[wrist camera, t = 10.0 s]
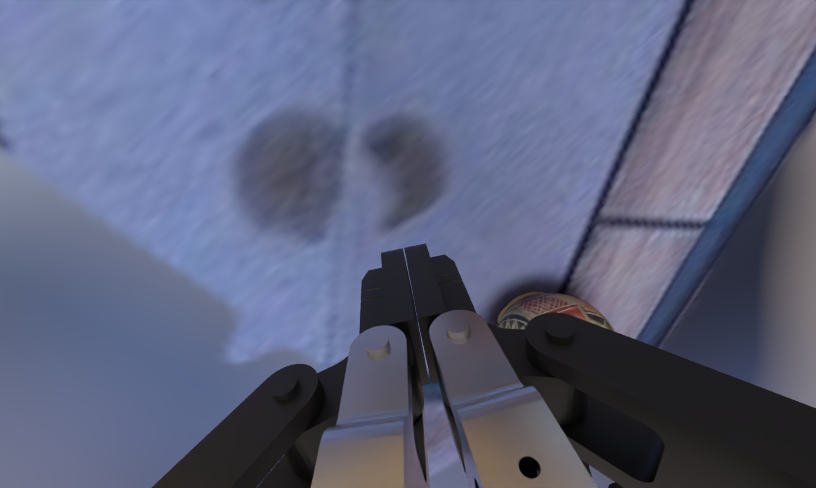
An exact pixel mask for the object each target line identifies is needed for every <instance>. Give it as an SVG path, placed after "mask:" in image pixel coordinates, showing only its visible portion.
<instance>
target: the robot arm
mask: <svg viewBox="0 0 816 488" xmlns="http://www.w3.org/2000/svg"><path fill="white" fill-rule="evenodd" d="M405 254H406V259H407V265H408V270H409V275H410V280H409V275H408V271H407V266H406V261H405V257H404V252H403V248H402V249H397V250H392V251H388V252H383V253H381V260H382V268H378V269H374V270H369V271H368V272H367V274H366V275H365V277H364V278H363V280H362V287H361V292H362V293H361V310H360V334H359V336H357V338H356V339H355V340H354V341H353V343H352V344H351V346H350V350H349V355H348V357H346V358H345V359H344V360H342V361H341V362H339V363H338V364H336V365H334V366H332V367H330V368H328V369H325V370H323V371H321V372H319V373H316V371H315V370H314V369H313V368H312V367H311V366H308V365H306V364H295V365H290V366H287V367H284V368H282V369H280V370H278V371H277V372H275V373H274V374H272V375H271V376H270V377H269V378H267V379H266V380H265V381H264V382H263V383H262V384H261V385H260V386H259V387H258V388H257V389H256V390H255V391H254V392H253V393H252V394H251V395H249V396H248V397H247V398H246V399H245V400H244V401H243V402H242V403H241V404H240V405H239V406H238V407H237V408H236V409H235V410H233V411H232V412H231V413H230V414H229V415H228V416H227V417H226V418H225V419H224V420H223V421H222V422H221V423H220V424H219V425H218V426H217V427H215V428H214V429H213V430H212V431H211V432H210V433H209V434H208V435H207V436H206V437H205V438H204V439H203V440H202V441H201V442H200V443H198V444H197V445H196V446H195V447H194V448H193V449H192V450H191V451H190V452H189V453H188V454H187V455H186V456H185V457H184V458H183V459H181V460H180V461H179V462H178V463H177V464H176V465H175V466H174V467H173V468H172V469H171V470H170V471H169V472H168V473H167V474H166V475H164V476H163V477H162V478H161V479H160V480H159V481H158V482H157V483H156V484H155V485H154V486H153V487H152V488H256V487H257V486H258V485H259V486H258V487H257V488H430V479H429V466H428V452H427V439H426V425H425V413H424V408H423V407H424V398H423V391H422V385H426V384H429V380H428V374H427V369H426V364H425V358H424V353H423V347H422V342H421V337H422V341H423V346H424V350H425V355H426V360H427V364H428V369H429V373H430V378H431V383H435V382H439V386H440V390H441V395H442V399H443V404H444V409H445V413H446V416H447V420H448V423H449V426H450V430H451V433H452V436H453V439H454V443H455V446H456V449H457V453H458V456H459V459H460V463H461V466H462V469H463V472H464V476H465V479H466V483H467V486H468V488H598V487H597V486H596V484H595V482H594V481H593V479H592V478H591V476H590V474H589V473H588V471H587V469H586V468H585V466H584V465H583V463H582V461H581V460H583V461H584V462H586V463H587V464H589V465H590V466H592V467H593V468H595V469H596V470H598V471H600V472H601V473H602V474H604V475H605V476H607V477H608V478H610V479H611V480H613V481H615V482H616V483H618V484H619V485H621V486H622V487H624V488H816V408H813V407H811V406H808V405H806V404H803V403H800V402H798V401H795V400H792V399H790V398H787V397H784V396H782V395H779V394H777V393H774V392H772V391H769V390H766V389H763V388H761V387H758V386H756V385H753V384H751V383H748V382H745V381H742V380H740V379H737V378H734V377H732V376H730V375H727V374H724V373H721V372H719V371H716V370H714V369H711V368H708V367H706V366H703V365H701V364H698V363H695V362H693V361H690V360H688V359H685V358H682V357H680V356H677V355H674V354H672V353H669V352H666V351H664V350H661V349H659V348H656V347H653V346H651V345H648V344H646V343H643V342H640V341H638V340H635V339H632V338H630V337H627V336H625V335H622V334H619V333H617V332H614V331H612V330H609V329H606V328H604V327H601V326H598V325H596V324H593V323H591V322H588V321H585V320H583V319H580V318H577V317H575V316H572V315H569V314H565V313H557V312H550V313H544V314H540V315H538V316H536V317H534V318H532V319H531V320H530V321H529V323H528V324H527V326H526V329H507V328H500V327H496V326H493V325H490V324H488V323H486V321H485V320H484V319H483V318H482V317H481V316H480V315H478V314H477V313H476V311H475V309H474V307H473V304H472V302H471V300H470V297H469V295H468V293H467V290H466V288H465V286H464V283H463V281H462V279H461V276H460V274H459V272H458V269H457V267H456V265H455V262H454V261H453V260H451V259H450V258H448V257H447V256H446V255H441V256H436V257H431V258H430V256H429V252H428V249H427V246H426V244H421V245H416V246H411V247H407V248H405ZM410 281H411V284H410ZM411 286H412V289H411ZM412 291H413V294H412ZM413 297H414V299H413ZM414 302H415V304H414ZM415 307H416V309H415ZM416 313H417V315H416ZM417 318H418V320H417ZM418 323H419V326H418ZM419 327H420V331H419ZM420 332H421V336H420ZM283 455H284V456H283ZM282 456H283V457H282ZM280 459H281V460H280ZM580 459H581V460H580ZM279 460H280V461H279ZM278 461H279V462H278ZM277 462H278V463H277ZM274 466H275V467H274ZM273 467H274V468H273ZM272 468H273V469H272ZM271 469H272V470H271ZM269 472H270V473H269ZM268 473H269V474H268ZM267 474H268V475H267ZM266 475H267V476H266ZM264 478H265V479H264ZM263 479H264V480H263ZM262 480H263V481H262ZM261 481H262V482H261Z"/></svg>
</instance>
